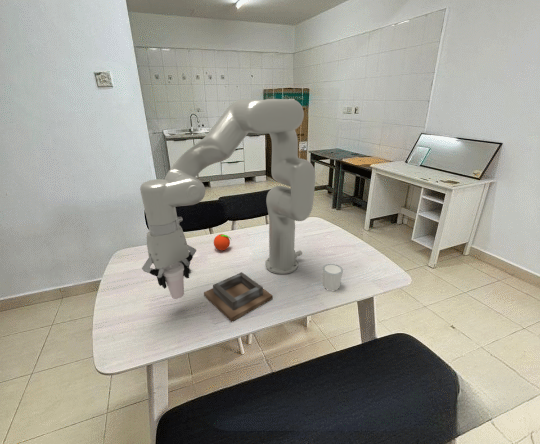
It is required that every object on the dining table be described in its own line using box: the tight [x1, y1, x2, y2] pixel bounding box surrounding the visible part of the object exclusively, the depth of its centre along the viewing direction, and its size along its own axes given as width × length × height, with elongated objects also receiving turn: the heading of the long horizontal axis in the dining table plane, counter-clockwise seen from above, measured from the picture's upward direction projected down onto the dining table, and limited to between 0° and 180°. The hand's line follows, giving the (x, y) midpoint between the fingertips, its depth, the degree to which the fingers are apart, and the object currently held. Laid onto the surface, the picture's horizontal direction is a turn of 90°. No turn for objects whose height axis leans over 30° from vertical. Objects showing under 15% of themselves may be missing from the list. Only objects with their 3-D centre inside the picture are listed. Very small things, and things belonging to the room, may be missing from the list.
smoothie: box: [163, 262, 185, 300], centre depth 84 cm, size 6×6×14 cm
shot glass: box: [322, 263, 344, 291], centre depth 99 cm, size 7×7×7 cm
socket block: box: [203, 271, 274, 323], centre depth 93 cm, size 16×16×4 cm
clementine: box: [213, 233, 232, 251], centre depth 123 cm, size 8×7×7 cm
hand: (174, 280), depth 85 cm, fingers closed on smoothie, 6 cm apart
